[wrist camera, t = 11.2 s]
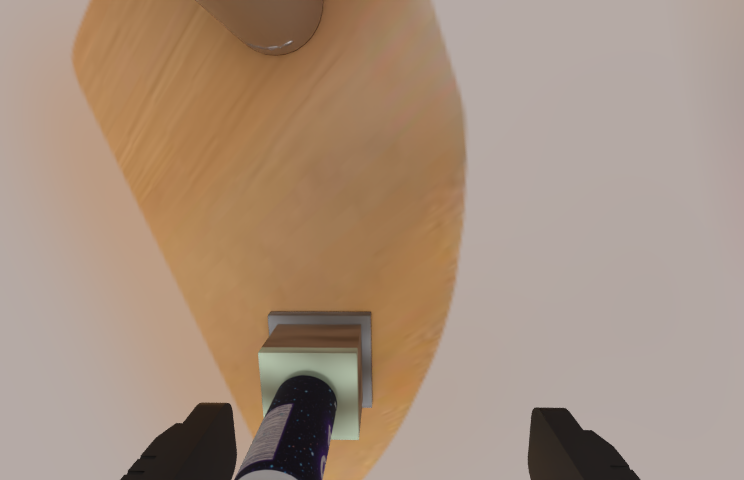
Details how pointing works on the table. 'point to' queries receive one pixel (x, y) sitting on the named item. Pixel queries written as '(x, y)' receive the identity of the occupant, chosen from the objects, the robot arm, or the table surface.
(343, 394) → the block
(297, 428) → the beverage can
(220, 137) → the table surface
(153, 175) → the table surface
